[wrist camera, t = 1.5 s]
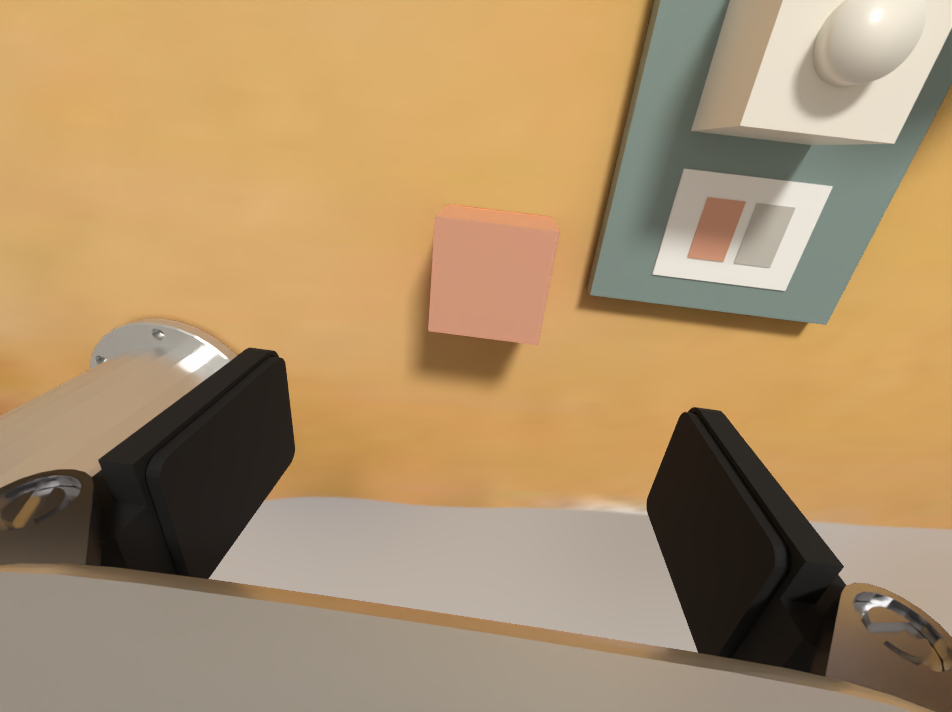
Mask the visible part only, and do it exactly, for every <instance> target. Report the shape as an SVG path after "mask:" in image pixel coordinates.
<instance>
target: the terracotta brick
mask: <svg viewBox="0 0 952 712" xmlns="http://www.w3.org/2000/svg"><path fill="white" fill-rule="evenodd" d="M559 234H560V231H559V229H558V228H557V226H556V224H555V223H554V221H553V219H552V218H551V217H549V216H541V215H533V214H525V213H517V212H508V211H500V210H492V209H484V208H476V207H468V206H459V205H451V204H449V205H447V206H446V207H445V208H444V209H443V210H442V211H440V212H439V213H438V214H437V215H436V216H435V224H434V240H433V257H432V274H431V290H430V307H429V324H428V331H431V332H439V333H447V334H454V335H462V336H470V337H478V338H485V339H493V340H501V341H509V342H517V343H524V344H532V345H538V343H539V338H540V333H541V328H542V322H543V317H544V312H545V307H546V302H547V296H548V291H549V286H550V281H551V276H552V270H553V265H554V260H555V255H556V249H557V244H558V239H559Z"/></svg>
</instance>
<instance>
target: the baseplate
mask: <svg viewBox="0 0 952 712" xmlns="http://www.w3.org/2000/svg"><path fill="white" fill-rule="evenodd" d="M951 84H952V0H654V4H653V8H652V13H651V17H650V21H649V26H648V30H647V34H646V38H645V43H644V47H643V51H642V55H641V60H640V64H639V68H638V73H637V77H636V81H635V85H634V90H633V94H632V98H631V103H630V107H629V111H628V115H627V120H626V124H625V128H624V132H623V137H622V141H621V145H620V150H619V154H618V158H617V162H616V167H615V171H614V175H613V179H612V184H611V188H610V192H609V197H608V201H607V205H606V209H605V214H604V218H603V222H602V226H601V231H600V235H599V239H598V244H597V248H596V252H595V256H594V261H593V265H592V269H591V274H590V278H589V282H588V286H587V290H588V292H589V294H590V295H593V296H601V297H609V298H617V299H625V300H633V301H641V302H649V303H657V304H665V305H673V306H681V307H689V308H696V309H704V310H712V311H720V312H728V313H736V314H744V315H752V316H760V317H768V318H776V319H784V320H792V321H800V322H808V323H816V324H824V325H826V324H827V322H828V320H829V319H830V317H831V315H832V313H833V311H834V309H835V307H836V305H837V303H838V301H839V299H840V297H841V295H842V294H843V292H844V290H845V288H846V286H847V284H848V282H849V280H850V278H851V276H852V274H853V272H854V271H855V269H856V267H857V265H858V263H859V261H860V259H861V257H862V255H863V253H864V251H865V249H866V247H867V246H868V244H869V242H870V240H871V238H872V236H873V234H874V232H875V230H876V228H877V226H878V224H879V222H880V221H881V219H882V217H883V215H884V213H885V211H886V209H887V207H888V205H889V203H890V201H891V199H892V198H893V196H894V194H895V192H896V190H897V188H898V186H899V184H900V182H901V180H902V178H903V176H904V174H905V173H906V171H907V169H908V167H909V165H910V163H911V161H912V159H913V157H914V155H915V153H916V151H917V150H918V148H919V146H920V144H921V142H922V140H923V138H924V136H925V134H926V132H927V130H928V128H929V126H930V125H931V123H932V121H933V119H934V117H935V115H936V113H937V111H938V109H939V107H940V105H941V103H942V102H943V100H944V98H945V96H946V94H947V92H948V90H949V88H950V86H951Z"/></svg>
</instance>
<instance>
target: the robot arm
mask: <svg viewBox="0 0 952 712" xmlns="http://www.w3.org/2000/svg"><path fill="white" fill-rule="evenodd" d="M294 453H295V444H294V435H293V426H292V417H291V409H290V400H289V391H288V382H287V373H286V365H285V361H284V359H282V358H279V356H278V354H277V353H276V352H275V351H271V350H264V349H256V348H248V349H246V350H244V351H243V352H242V353H240V354H239V355H238V356H237V355H236V354H235V353H234V352H233V351H231V350H230V349H229V348H228V347H227V346H226V345H224V344H223V343H221V342H220V341H219V340H217V339H216V338H214V337H213V336H211V335H209V334H207V333H206V332H204V331H202V330H200V329H198V328H196V327H193V326H190V325H187V324H184V323H181V322H178V321H173V320H167V319H161V318H150V319H140V320H136V321H131V322H129V323H126V324H124V325H122V326H120V327H117V328H115V329H113V330H112V331H110V332H109V333H107V334H106V335H104V336H103V337H102V338H101V340H100V341H99V342H98V343H97V345H96V346H95V348H94V350H93V353H92V355H91V362H90V369H89V370H87V371H86V372H84V373H82V374H80V375H78V376H76V377H74V378H72V379H70V380H68V381H66V382H64V383H62V384H61V385H59V386H57V387H55V388H53V389H51V390H49V391H47V392H45V393H43V394H41V395H39V396H37V397H36V398H34V399H32V400H30V401H28V402H26V403H24V404H22V405H20V406H18V407H16V408H14V409H12V410H10V411H9V412H7V413H5V414H3V415H1V416H0V712H952V637H951V636H950V635H949V634H948V632H946V630H945V629H944V628H943V627H942V626H941V625H940V624H939V623H938V622H936V621H935V620H934V619H933V618H931V617H930V616H929V615H928V614H926V613H925V612H924V611H923V610H921V609H920V608H918V607H917V606H915V605H914V604H912V603H910V602H909V601H907V600H906V599H904V598H903V597H901V596H899V595H896V594H894V593H892V592H890V591H888V590H886V589H884V588H881V587H877V586H874V585H871V584H865V583H853V584H850V585H847V586H846V584H845V583H844V582H843V580H842V579H841V578H840V577H839V575H838V574H839V572H840V571H841V570H842V568H843V567H844V566H843V565H842V564H841V562H840V561H839V560H838V559H837V557H836V556H835V555H834V553H833V552H832V551H831V550H830V548H829V547H828V546H827V544H826V543H825V542H824V541H823V539H822V538H821V537H820V536H819V534H818V533H817V532H816V531H815V529H814V528H813V527H812V525H811V524H810V523H809V522H808V520H807V519H806V518H805V516H804V515H803V514H802V513H801V511H800V510H799V509H798V508H797V506H796V505H795V504H794V502H793V501H792V500H791V499H790V497H789V496H788V495H787V494H786V492H785V491H784V490H783V489H782V487H781V486H780V485H779V483H778V482H777V481H776V480H775V478H774V477H773V476H772V475H771V473H770V472H769V471H768V469H767V468H766V467H765V466H764V464H763V463H762V462H761V461H760V459H759V458H758V457H757V455H756V454H755V453H754V452H753V450H752V449H751V448H750V447H749V445H748V444H747V443H746V441H745V440H744V439H743V438H742V436H741V435H740V434H739V433H738V431H737V430H736V429H735V427H734V426H733V425H732V424H731V422H730V421H729V420H728V419H727V417H726V416H725V415H724V414H723V413H722V412H721V411H718V410H711V409H703V408H696V407H694V408H691V409H690V410H689V411H688V413H687V412H684V413H682V414H681V415H680V417H679V419H678V422H677V425H676V427H675V430H674V432H673V435H672V437H671V440H670V442H669V445H668V447H667V450H666V452H665V455H664V457H663V460H662V462H661V465H660V468H659V470H658V473H657V475H656V478H655V480H654V483H653V485H652V488H651V490H650V493H649V495H648V498H647V512H648V516H649V518H650V521H651V524H652V526H653V530H654V532H655V535H656V538H657V541H658V543H659V546H660V549H661V552H662V554H663V557H664V560H665V563H666V565H667V568H668V571H669V573H670V576H671V579H672V582H673V585H674V587H675V590H676V593H677V596H678V598H679V601H680V604H681V607H682V609H683V612H684V615H685V618H686V620H687V623H688V626H689V629H690V631H691V634H692V637H693V640H694V642H695V645H696V648H697V650H698V653H696V652H690V651H685V650H678V649H671V648H665V647H659V646H652V645H646V644H639V643H633V642H627V641H620V640H614V639H608V638H601V637H594V636H588V635H582V634H575V633H569V632H563V631H556V630H549V629H543V628H537V627H530V626H523V625H517V624H511V623H503V622H497V621H491V620H484V619H477V618H470V617H464V616H458V615H451V614H444V613H437V612H431V611H424V610H417V609H411V608H404V607H397V606H390V605H384V604H377V603H371V602H364V601H357V600H350V599H343V598H336V597H329V596H323V595H316V594H309V593H302V592H295V591H288V590H281V589H274V588H266V587H260V586H253V585H246V584H239V583H232V582H225V581H219V580H212V579H209V577H210V576H211V574H212V573H213V572H214V570H215V569H216V567H217V566H218V564H219V563H220V562H221V560H222V559H223V557H224V556H225V555H226V553H227V552H228V551H229V549H230V548H231V546H232V545H233V544H234V542H235V541H236V539H237V538H238V536H239V535H240V534H241V532H242V531H243V529H244V528H245V527H246V525H247V524H248V522H249V521H250V520H251V518H252V517H253V515H254V514H255V513H256V511H257V510H258V508H259V507H260V506H261V504H262V503H263V501H264V500H265V499H266V497H267V496H268V494H269V493H270V492H271V490H272V489H273V487H274V486H275V485H276V483H277V482H278V480H279V479H280V478H281V476H282V475H283V473H284V472H285V471H286V469H287V468H288V466H289V465H290V463H291V462H292V460H293V457H294Z"/></svg>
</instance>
